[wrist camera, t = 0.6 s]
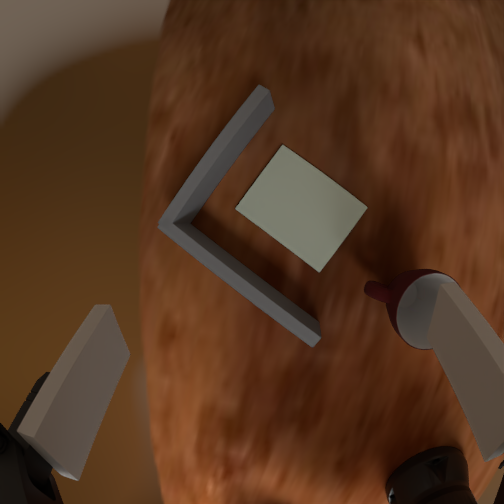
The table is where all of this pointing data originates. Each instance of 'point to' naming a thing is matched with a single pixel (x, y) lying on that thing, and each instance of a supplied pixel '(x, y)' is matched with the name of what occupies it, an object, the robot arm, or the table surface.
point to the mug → (410, 303)
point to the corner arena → (266, 214)
